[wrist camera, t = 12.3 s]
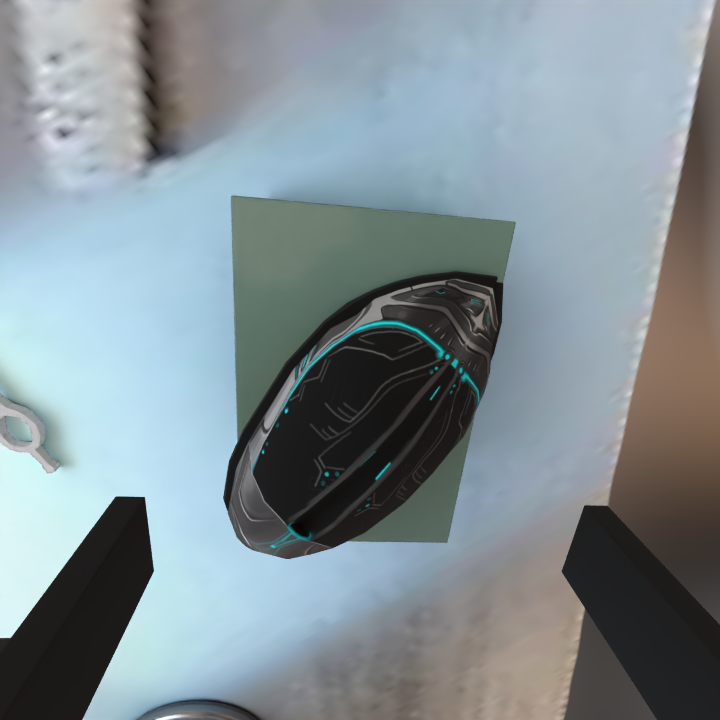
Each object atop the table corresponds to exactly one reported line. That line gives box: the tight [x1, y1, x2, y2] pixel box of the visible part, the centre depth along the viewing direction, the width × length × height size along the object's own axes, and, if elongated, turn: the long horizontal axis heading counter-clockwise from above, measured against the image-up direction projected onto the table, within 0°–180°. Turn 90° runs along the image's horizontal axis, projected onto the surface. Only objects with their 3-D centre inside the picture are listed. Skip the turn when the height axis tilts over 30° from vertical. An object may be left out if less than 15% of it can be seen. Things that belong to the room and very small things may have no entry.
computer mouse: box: [223, 271, 503, 559], centre depth 17 cm, size 9×17×6 cm, turn 135°
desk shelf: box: [231, 196, 515, 543], centre depth 24 cm, size 18×12×9 cm, turn 175°
